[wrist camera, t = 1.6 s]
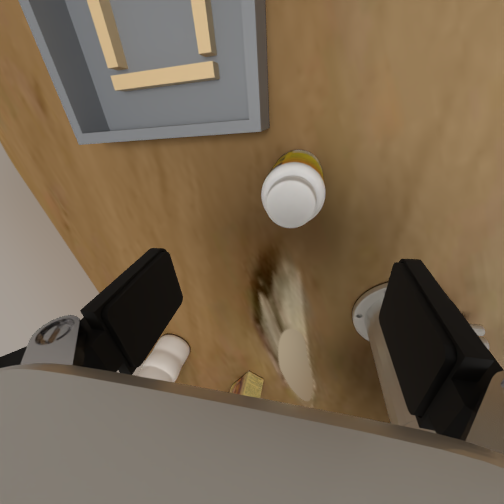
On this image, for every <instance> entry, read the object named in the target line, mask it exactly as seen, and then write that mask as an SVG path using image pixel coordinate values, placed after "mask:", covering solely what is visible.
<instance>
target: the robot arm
mask: <svg viewBox="0 0 504 504" xmlns="http://www.w3.org/2000/svg"><path fill="white" fill-rule="evenodd" d="M182 300H183V296H182V292H181V289H180V286H179V283H178V279H177V276H176V273H175V270H174V266H173V263H172V260H171V257H170V254H169V253H168V252H167V251H166V250H165V249H162V248H151V249H149V250H148V251H147V252H146V253H145V254H144V255H143V256H141V257H140V258H139V259H138V260H137V261H136V262H135V263H134V264H132V265H131V266H130V267H129V268H128V269H127V270H126V271H124V272H123V273H122V274H121V275H120V276H119V277H118V278H117V279H115V280H114V281H113V282H112V283H111V284H110V285H109V286H107V287H106V288H105V289H104V290H103V291H102V292H101V293H100V294H99V295H97V296H96V297H95V298H94V299H93V300H92V301H90V302H89V303H88V304H87V305H86V306H85V307H84V308H83V309H81V313H82V314H83V316H84V318H83V319H82V320H80V319H79V318H78V317H77V316H74V315H68V316H63V317H59V318H57V319H55V320H52V321H50V322H48V323H47V324H45V325H43V326H42V327H41V328H39V329H38V330H37V331H36V332H35V333H34V334H33V335H32V337H31V339H30V341H29V343H28V346H27V347H24V348H22V349H19V350H17V351H15V352H12V353H10V354H7V355H5V356H2V357H0V504H504V370H503V369H502V367H501V366H500V365H499V363H498V362H497V361H496V359H495V358H494V357H493V355H492V354H491V353H490V351H489V343H488V341H487V340H486V339H485V338H484V337H479V336H483V335H484V334H485V329H484V327H483V326H482V325H477V324H469V323H468V322H467V320H466V319H465V318H464V316H463V315H462V314H461V312H460V311H459V309H458V308H457V307H456V305H455V304H454V303H453V302H452V301H451V300H450V299H449V297H448V296H447V295H446V294H445V292H444V291H443V289H442V288H441V287H440V285H439V284H438V283H437V281H436V280H435V279H434V277H433V276H432V274H431V273H430V272H429V270H428V269H427V268H426V266H425V265H424V264H423V262H422V261H421V260H418V259H401V260H400V261H399V263H398V262H396V263H394V265H393V268H392V271H391V275H390V278H389V282H388V283H385V284H382V285H379V286H376V287H374V288H372V289H370V290H369V291H367V292H366V293H365V294H363V295H362V296H361V297H360V298H359V299H358V300H357V302H356V304H355V305H354V308H353V311H352V319H353V324H354V326H355V329H356V330H357V332H358V333H359V334H360V335H361V336H362V337H363V338H364V339H366V340H367V341H369V342H370V345H371V349H372V353H373V357H374V361H375V365H376V369H377V373H378V377H379V381H380V384H381V388H382V392H383V396H384V400H385V404H386V408H387V412H388V416H389V420H390V423H386V422H381V421H376V420H371V419H366V418H361V417H356V416H351V415H346V414H341V413H335V412H330V411H325V410H319V409H314V408H309V407H304V406H298V405H293V404H288V403H282V402H277V401H272V400H267V399H261V398H256V397H250V396H245V395H239V394H234V393H229V392H223V391H218V390H212V389H207V388H201V387H196V386H190V385H185V384H179V383H174V382H168V381H163V380H157V379H151V378H146V377H140V376H134V375H132V374H133V372H134V371H135V369H136V368H137V367H139V366H140V365H141V364H142V363H143V361H144V360H145V358H146V357H147V355H148V354H149V352H150V351H151V349H152V348H153V346H154V345H155V343H156V342H157V340H158V338H159V337H160V335H161V334H162V332H163V331H164V329H165V328H166V326H167V325H168V323H169V322H170V320H171V319H172V317H173V316H174V314H175V313H176V311H177V309H178V308H179V306H180V305H181V303H182ZM117 370H119V372H120V373H117Z"/></svg>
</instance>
